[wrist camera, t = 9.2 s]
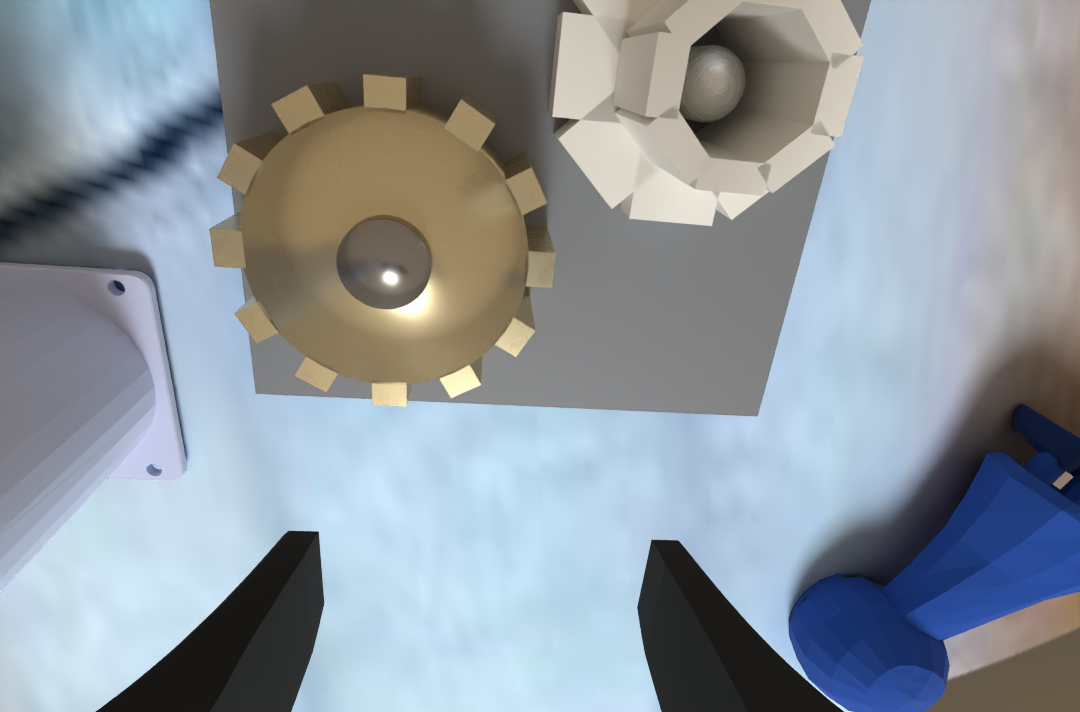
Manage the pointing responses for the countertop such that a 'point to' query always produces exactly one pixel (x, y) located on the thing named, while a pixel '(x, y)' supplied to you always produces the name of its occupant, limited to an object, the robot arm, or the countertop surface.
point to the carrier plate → (540, 211)
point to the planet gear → (656, 88)
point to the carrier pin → (711, 83)
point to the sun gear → (385, 238)
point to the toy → (948, 581)
